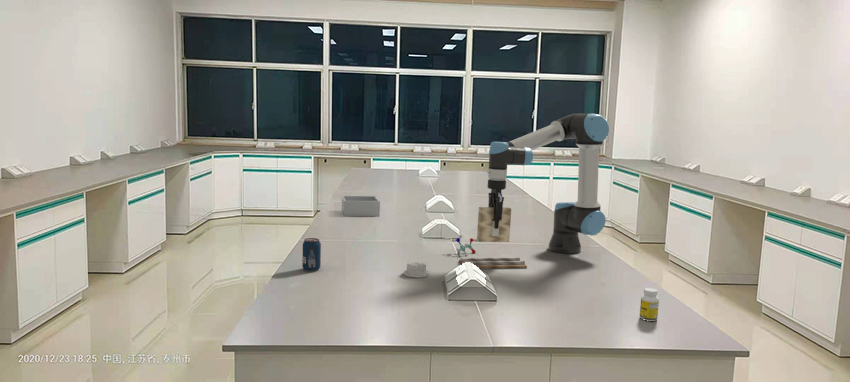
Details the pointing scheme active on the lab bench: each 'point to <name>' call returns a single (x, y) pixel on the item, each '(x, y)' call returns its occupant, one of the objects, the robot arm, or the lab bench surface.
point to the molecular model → (465, 245)
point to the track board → (495, 263)
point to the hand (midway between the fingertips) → (493, 234)
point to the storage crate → (360, 206)
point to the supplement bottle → (649, 305)
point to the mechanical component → (416, 270)
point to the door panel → (486, 225)
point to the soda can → (311, 254)
